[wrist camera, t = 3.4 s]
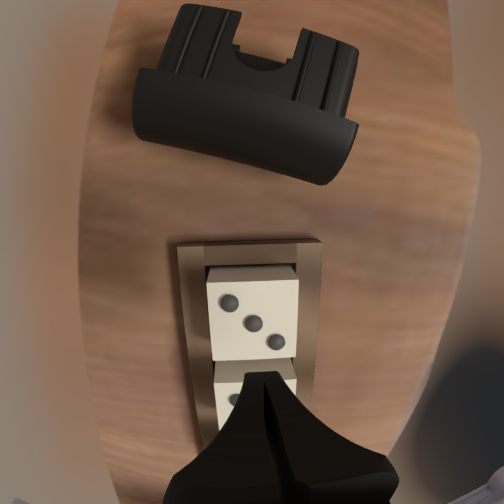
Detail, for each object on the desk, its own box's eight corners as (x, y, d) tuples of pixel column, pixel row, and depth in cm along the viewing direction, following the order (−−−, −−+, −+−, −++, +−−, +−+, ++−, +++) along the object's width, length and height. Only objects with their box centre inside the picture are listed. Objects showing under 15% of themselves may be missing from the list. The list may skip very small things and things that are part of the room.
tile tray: (301, 452, 25) (303, 461, 24) (207, 457, 25) (207, 466, 24) (317, 238, 20) (322, 242, 19) (180, 242, 20) (176, 247, 19)
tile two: (286, 406, 22) (293, 435, 19) (221, 409, 22) (220, 438, 19) (289, 353, 21) (297, 381, 18) (215, 356, 21) (213, 384, 18)
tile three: (288, 333, 21) (296, 358, 18) (215, 337, 21) (212, 362, 18) (289, 264, 20) (299, 280, 17) (210, 267, 20) (206, 284, 17)
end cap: (155, 145, 18) (117, 133, 12) (186, 45, 17) (167, -5, 10) (308, 184, 20) (343, 190, 13) (335, 84, 18) (377, 50, 11)
